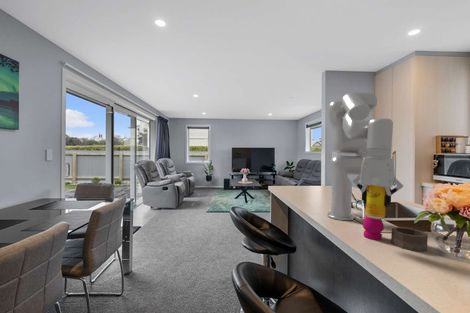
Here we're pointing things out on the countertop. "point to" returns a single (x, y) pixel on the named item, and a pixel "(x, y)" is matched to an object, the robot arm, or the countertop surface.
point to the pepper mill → (373, 228)
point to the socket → (409, 239)
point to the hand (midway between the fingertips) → (375, 204)
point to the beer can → (375, 200)
